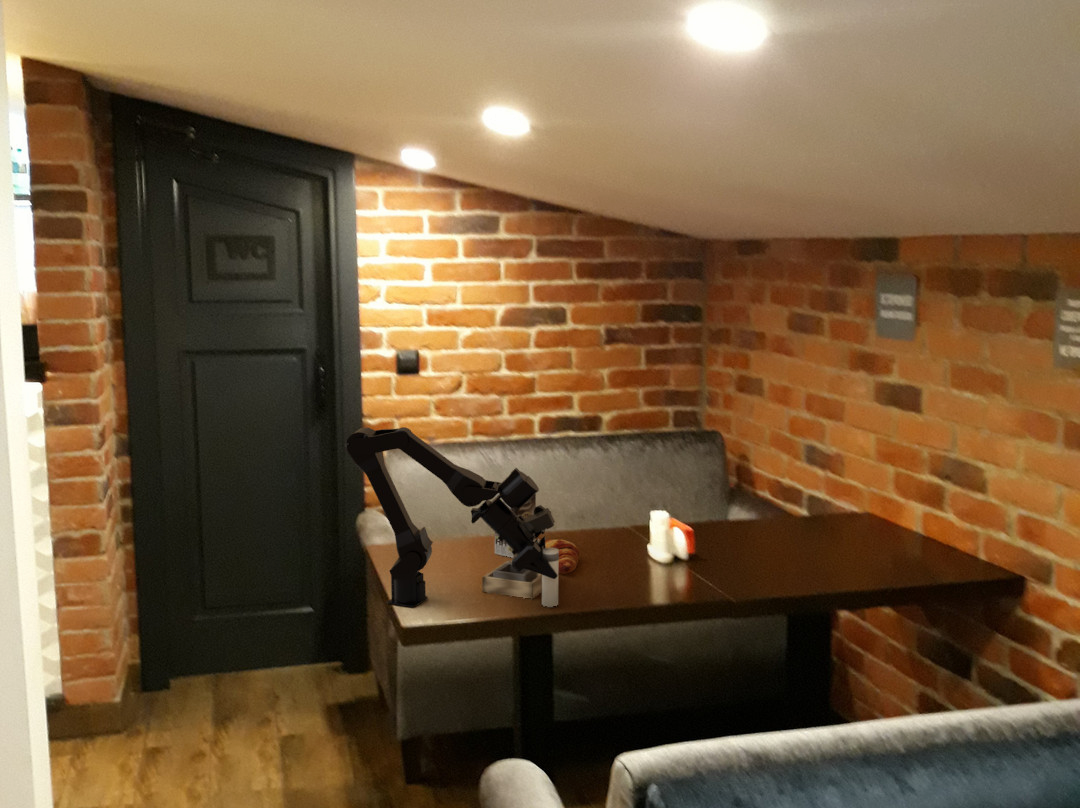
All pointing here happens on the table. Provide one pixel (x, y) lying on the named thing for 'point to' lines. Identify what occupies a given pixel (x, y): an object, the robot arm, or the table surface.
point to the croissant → (565, 554)
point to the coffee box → (525, 511)
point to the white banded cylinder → (550, 579)
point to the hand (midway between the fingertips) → (556, 574)
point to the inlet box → (512, 581)
